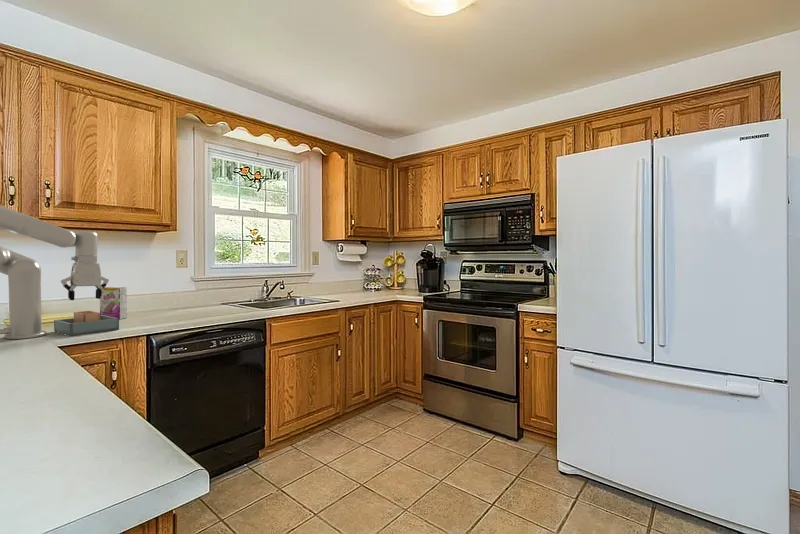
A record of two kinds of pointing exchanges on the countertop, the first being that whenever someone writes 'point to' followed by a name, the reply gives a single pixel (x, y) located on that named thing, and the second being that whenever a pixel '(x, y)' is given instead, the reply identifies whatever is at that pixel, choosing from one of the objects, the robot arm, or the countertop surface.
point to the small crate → (86, 316)
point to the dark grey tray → (86, 326)
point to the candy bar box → (113, 302)
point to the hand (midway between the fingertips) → (85, 299)
